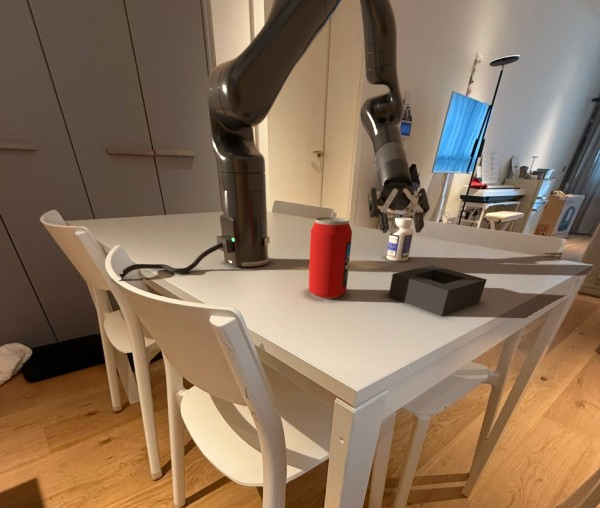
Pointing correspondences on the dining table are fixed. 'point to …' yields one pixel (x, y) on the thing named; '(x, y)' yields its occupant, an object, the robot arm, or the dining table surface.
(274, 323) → the dining table surface
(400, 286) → the socket pad
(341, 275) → the beverage can
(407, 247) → the pill bottle
